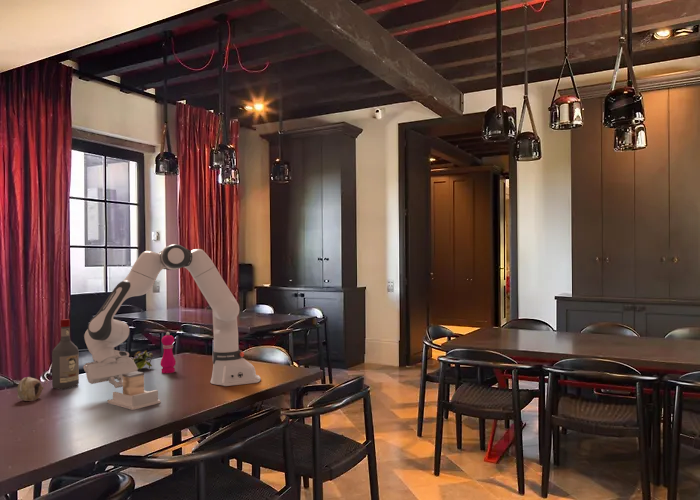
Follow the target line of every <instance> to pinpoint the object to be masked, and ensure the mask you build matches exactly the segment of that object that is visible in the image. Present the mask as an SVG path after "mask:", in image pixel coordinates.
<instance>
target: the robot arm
mask: <svg viewBox="0 0 700 500" xmlns="http://www.w3.org/2000/svg"><path fill="white" fill-rule="evenodd" d="M182 268H184V269H186V270H187V271H188V272H189V273H190V275H191V277H192V279H193V281H194V282H195V284H196V285H197V288H198V289H199V290H200V292H201V294H202V295H203V297H204V299H205V300H206V302H207V303H208V305H209V307H210V309H211V310H212V328H213V351H212V364H213V366H212V373H211V379H210V383H211V384H212V385H218V386H223V387H229V386H238V385H239V386H240V385H246V384H247V385H248V384H257V383H259V382H261V376H260V375H258V374H256V369H255V366H254V365H253V364H252V363H251V362H249V361H248V360H247V359H245V358H243V357H244V356H245V352H244V351H242V350H240V349H239V328H238V316H239V314H240V305H239V303H238V301H237V299H236V298H235V297H234V295H233V293H232V292H231V290H230V288H229V287H228V285H227V284H226V282H225V280H224V279H223V277H222V275H221V273H220V272H219V269H217V266H215V264H214V262H213V260H212V259H211V257H209V255H208V254H207V253H206V252H205V251H204V249H202V248H194V249H192V250H190V249H188V248H186V247H185V246H182V245H181V244H176V243H173V244H172V243H171V244H169V245H167V246H165V247H164V248H163V249H162V250H160V251H159V252H155V251H153V250H152V251H151V250H145V251H143V252H142V253H140V254H139V256H138V258H137V259H136V260H135V262H134V263H133V265H132V267H131V268H130V270H129V272H128V274H127V275H126V277H125V278H124V279H123V280H122V281H120V282H119V283H117V285H116V286H115V287H114V289H113V290H112V292H111V293H110V294H109V295H108V297H107V299H106V300H105V302H104V303H103V305H102V306H101V307H100V309H99V310H98V312H97V313H96V314H95V315H94V316H93V317H92V318H91V319H90V320H89V322H88V325H87V329H86V331H85V333H84V334H83V337H84V338H83V339H84V342H85V344H86V347H87V349H88V352H89V353H90V354H91V355H92V356H91V357H92V360H93V361H92V362H86V363H84V365H83V370H84V372H85V375H86V378H87V379H86V380H87V381H88V383H89V384H90V385H93V384H99V383H104V382H108V383H110V385H112V386H114V387H113V388H114V389H117V388H123V376H122V374H126V373H131V372H136V371H138V370H139V369H138V368H137V366H136V364H135V362H134V361H133V358H132V357H129V356H130V353H129V352H128V351H123V350H122V351H121V350H118V349H115V348H116V347H118V346H120V345H122V344H123V343H124V342H126V341H127V340H128V338H129V336H130V334H131V333H130V331H131V329H130V327H129V324H127V323H126V322H124V321H121V320H120V319H119V320H118V319H116V318H115V319H114V317H115V315H117V312H118V311H119V310H120V308H121V306H122V305H123V303H124V302H125V301H126V300H128V299H129V298H132V297H141V296H143V295H146V294H147V293H149V292H150V291H151V289H152V288H153V286H154V284H155V282H156V280H157V278H158V276H159V274H160V272H162V270H167V271H175V270H179V269H182Z"/></svg>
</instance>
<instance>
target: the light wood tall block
mask: <svg viewBox="0 0 700 500" xmlns="http://www.w3.org/2000/svg"><path fill="white" fill-rule="evenodd" d="M122 376H123V380H122V382H123V387H122V394H126V395H130V396H132V395H136V394H140V393H144V391H145V372H143V371H138V370H137V371H136V372H131V373H126V374H122Z"/></svg>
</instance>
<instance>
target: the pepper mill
mask: <svg viewBox="0 0 700 500" xmlns="http://www.w3.org/2000/svg"><path fill="white" fill-rule="evenodd" d="M170 334H171V333H170V332H169V331H167V332H166V333H165V335H163V336H162V338H161V343H162V349H163V354H162V358H161V360H160V367H161V373H162V374H172V373H175V372H176V371H175V370H176V368H175V365H176V358H175V356H174V353H173V348H174V342H175V338H174V336H173V335H172V334H171V335H170Z"/></svg>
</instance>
